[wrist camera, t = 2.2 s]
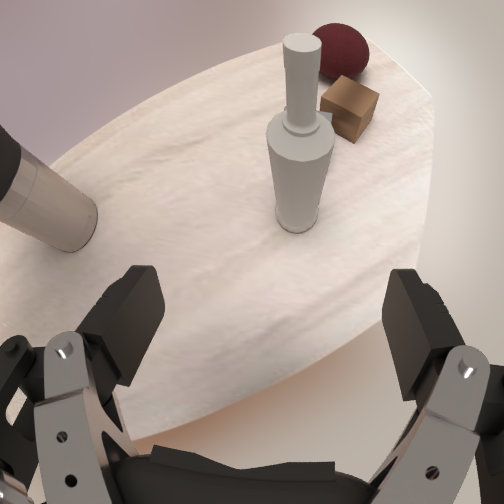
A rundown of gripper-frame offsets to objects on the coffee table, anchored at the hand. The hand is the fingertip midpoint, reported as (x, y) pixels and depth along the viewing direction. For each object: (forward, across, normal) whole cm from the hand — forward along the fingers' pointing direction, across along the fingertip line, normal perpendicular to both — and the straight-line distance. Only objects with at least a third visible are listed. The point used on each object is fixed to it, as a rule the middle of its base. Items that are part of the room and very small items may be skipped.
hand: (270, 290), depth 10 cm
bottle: (+27, -1, +8) cm, 28 cm away
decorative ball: (+46, -9, -11) cm, 48 cm away
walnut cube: (+37, -9, -3) cm, 38 cm away
